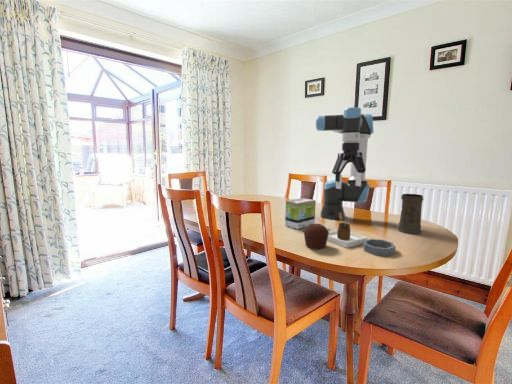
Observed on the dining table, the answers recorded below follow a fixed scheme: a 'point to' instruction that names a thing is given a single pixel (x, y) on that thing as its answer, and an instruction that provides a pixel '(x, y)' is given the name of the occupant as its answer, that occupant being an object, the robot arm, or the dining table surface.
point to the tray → (353, 240)
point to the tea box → (300, 213)
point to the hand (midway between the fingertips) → (348, 187)
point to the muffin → (316, 236)
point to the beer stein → (411, 214)
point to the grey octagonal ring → (370, 243)
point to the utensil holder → (343, 229)
